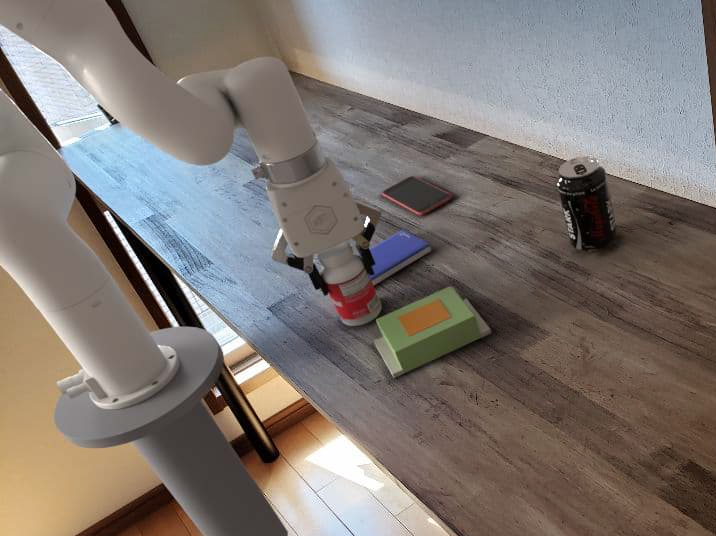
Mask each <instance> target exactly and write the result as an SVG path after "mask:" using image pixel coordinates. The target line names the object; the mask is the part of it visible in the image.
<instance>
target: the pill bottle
mask: <svg viewBox="0 0 716 536" xmlns="http://www.w3.org/2000/svg"><path fill="white" fill-rule="evenodd" d="M316 257H317V259H318V261H319V263H320V265H321V268H320V271H319V273H320V275H321V278H322V280H323V282H324V284H325V286H326V288H327V290H328V292H329V293H328V295H329V297H330V300H331V302H332V304H333V306H334V309H335V310H336V312H337V315H338V316H339V319H340V320H341V322H342V324H344V325H346V326H349V327H357V326H358V327H359V326H363V325H366V324H368V323H370V322H373V321H374V320H376V319H377V318H378V316H379V315H380V314H381V311H382V303H381V300H380V297H379V295H378V293H377V291H376V288H375V285H374V286H373V284H372V281H371V279H370V276H369V274H368V272H367V269H366V267H365V264H364V262H363V260H362V259H361V257H360V256H359V254H356V253H354V249H353V247H352V246H351V243H350V242H349V240H347V241H345V242H343V243H340V244H338V245H336V246H333V247H331V248H329V249H326V250H324V251H321V252H319V253H317V254H316Z"/></svg>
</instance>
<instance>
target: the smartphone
mask: <svg viewBox="0 0 716 536" xmlns="http://www.w3.org/2000/svg"><path fill="white" fill-rule="evenodd" d="M381 194H382V196H383V197H385V198H387V199H389V201H390V200H391V201H392V202H394V203H396V204H397V205H400V206H402V207H403V208H406V209H407V210H408V211H411V212H412V213H414V214H416V215H418V216H424V215H427V214H428V213H430V212H431V211H433V210H436V209H437V208H439V207H440V206H442V205H444V204H446V203H447V202H449V201H450V200H452V199H453V195H452V193H450V192H447V191H445V190H444V189H442V188H439V187H437V186H435V185H433V184H431V183H429V182H428V181H425V180H423V179H421V178H419V177H417V176H415V175H411V176H407V177H406V178H404V179H402V180H400V181H399V182H397V183H395V184H393V185H392V186H389V187H388V188H386V189H384V190H383V191H382V192H381Z"/></svg>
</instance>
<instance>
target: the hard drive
mask: <svg viewBox="0 0 716 536" xmlns="http://www.w3.org/2000/svg"><path fill="white" fill-rule="evenodd" d="M369 249H370V252H371V254H372V256H373V259H374V261H375V264H376V265H373V266H372V268H373V271H374V273H375V274H374V275H372V276H371V275H369V276H370V279H371V281H372V284H373V286H374V287H375V286H376V285H377V284H379V283H381V282H382V281H384V280H386V279H387V278H389V277H390V276H392V275H394V274H395V273H397V272H399V271H400V270H403V269H404V268H406V267H407V266H409V265H410V264H412V263H413V262H415V261H417V260H419V259H420V258H422V257H424V256H426V255H427V254H428V253H430V252H432V248H431V246H430V243H428V242H427V241H425V240H424V239H421V238H419V237H418V236H417V235H414V234H412V233H410V232H408V231H406V229H405V230H404V229H401V230H400V231H398V232H396V233H394V234H393V235H391V236H389V237H388V238H386V239H384V240H382V241H381V242H379V243H377V244H376V245H374V246H373V247H371V248H369ZM358 256H360V255H359V254H358ZM368 274H369V273H368Z"/></svg>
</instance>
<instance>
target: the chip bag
mask: <svg viewBox="0 0 716 536" xmlns="http://www.w3.org/2000/svg"><path fill="white" fill-rule="evenodd" d="M480 315H481V314H479V312H477V309H475V307H474V305H472V303H470V301H469V300H468V299H467V298H465V299H462V297H461V296H460V295H459V293H458V292H457V291H456V289H455V288H454V287H453V286H452V285H450V286H447V287H445V288H443V289H441V290H438V291H436V292H434V293H432V294H430V295H427V296H425V297H423V298H421V299H418V300H415V301H414V302H412V303H410V304H407V305H404V306H403V307H400V308H398V309H396V310H394V311H392V312H389V313H386V314H385V315H383V316H380V317H377V318H375V321H376V324H377V326H378V328H379V331H380V334H381V335H382V336H381V337H378V338H376V339H375V340H373V343H374V345H375V347H376V349H377V351H378V353H379V355H380V356H381V358H382V360H383V361H384V363H385V365H386V367H387V369H388V370H389V372H390V373H391V376H392V377H393V379H395V378H398V377H399V376H403V375H404V374H406V373H408V372H410V371H413V370H414V369H417V368H419V367H422V366H423V365H426V364H428V363H430V362H432V361H434V360H436V359H439V358H440V357H442V356H445V355H447V354H450V353H451V352H453V351H456V350H458V349H460V348H462V347H464V346H466V345H469V344H471V343H473V342H475V341H477V340H479V339H481V338H484V337H486V336H488V335H490V334H492V330H491V328H490V327H489V325H488V324H487V323H486V322H485V320H484V319H483V318H482V316H480Z"/></svg>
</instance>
